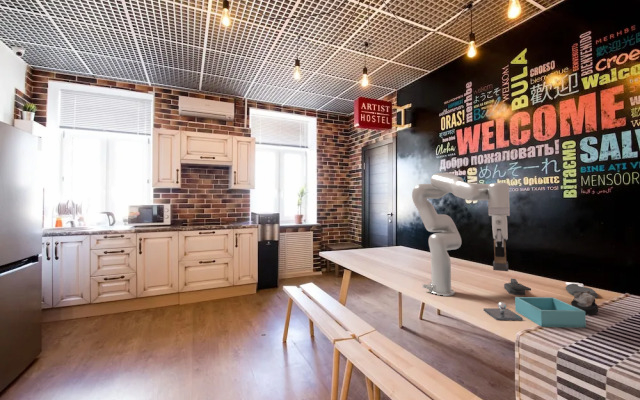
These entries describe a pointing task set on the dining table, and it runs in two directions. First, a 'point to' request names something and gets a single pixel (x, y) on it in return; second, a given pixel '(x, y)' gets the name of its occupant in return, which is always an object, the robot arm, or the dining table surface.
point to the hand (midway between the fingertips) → (499, 255)
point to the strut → (500, 260)
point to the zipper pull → (516, 288)
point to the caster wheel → (585, 302)
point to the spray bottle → (579, 289)
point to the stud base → (502, 313)
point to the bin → (550, 312)
